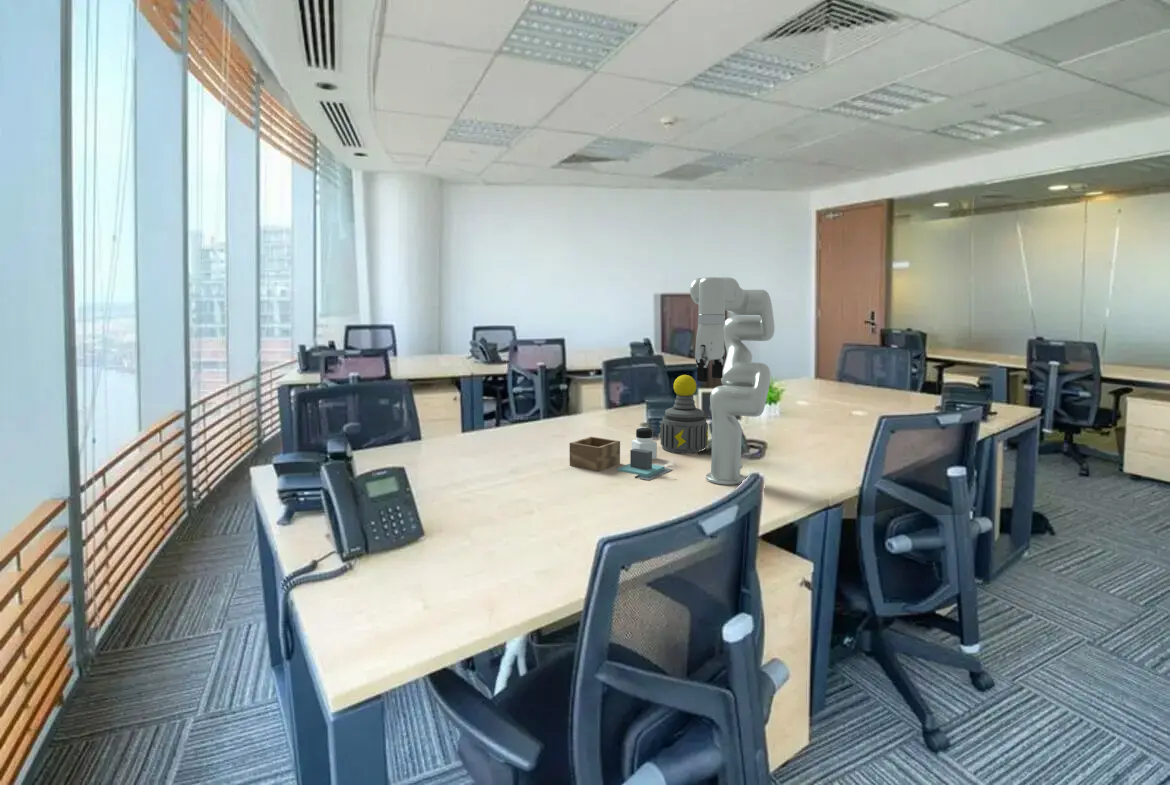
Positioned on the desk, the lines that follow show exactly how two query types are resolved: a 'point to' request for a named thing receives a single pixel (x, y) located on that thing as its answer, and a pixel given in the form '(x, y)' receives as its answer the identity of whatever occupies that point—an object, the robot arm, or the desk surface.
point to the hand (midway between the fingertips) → (709, 379)
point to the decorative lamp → (684, 421)
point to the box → (594, 453)
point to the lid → (641, 464)
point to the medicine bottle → (645, 441)
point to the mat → (654, 474)
